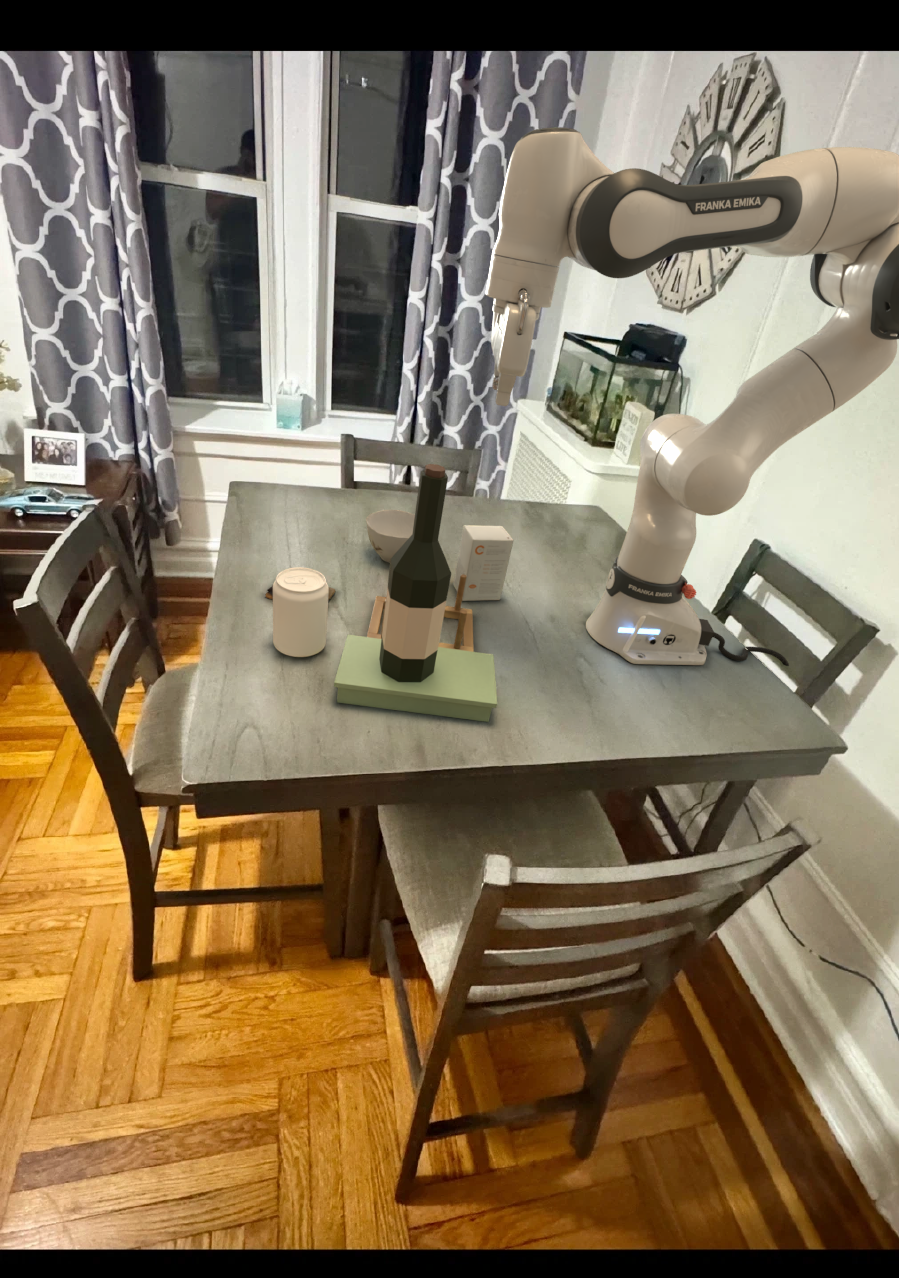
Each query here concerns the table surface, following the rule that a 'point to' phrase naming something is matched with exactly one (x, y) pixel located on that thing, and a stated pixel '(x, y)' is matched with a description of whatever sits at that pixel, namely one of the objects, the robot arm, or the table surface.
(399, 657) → the wine bottle
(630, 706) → the table surface
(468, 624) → the dish rack
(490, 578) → the small box
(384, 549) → the teacup
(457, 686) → the green low rectangular block
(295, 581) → the beverage can
